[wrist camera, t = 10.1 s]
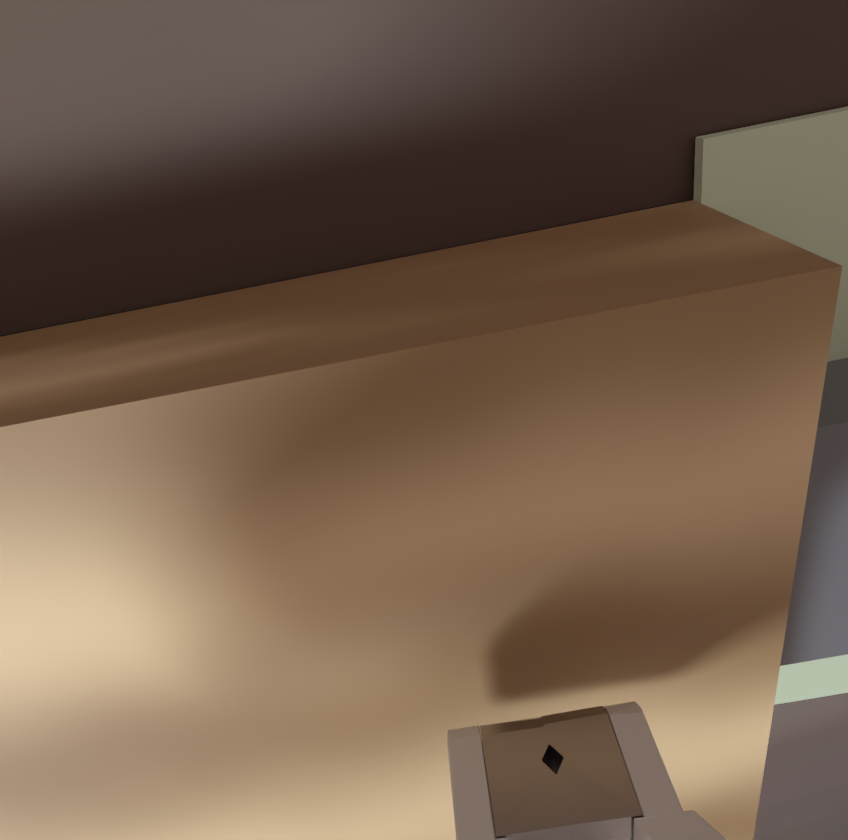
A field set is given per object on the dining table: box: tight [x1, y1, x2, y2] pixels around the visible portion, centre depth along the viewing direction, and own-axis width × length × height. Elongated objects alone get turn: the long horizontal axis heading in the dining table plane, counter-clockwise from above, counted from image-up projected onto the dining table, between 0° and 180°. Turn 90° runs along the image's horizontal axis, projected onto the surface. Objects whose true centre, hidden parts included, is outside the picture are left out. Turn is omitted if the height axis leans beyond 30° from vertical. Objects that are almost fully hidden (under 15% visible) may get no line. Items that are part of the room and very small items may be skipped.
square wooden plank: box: [0, 200, 842, 840], centre depth 13 cm, size 13×16×4 cm
